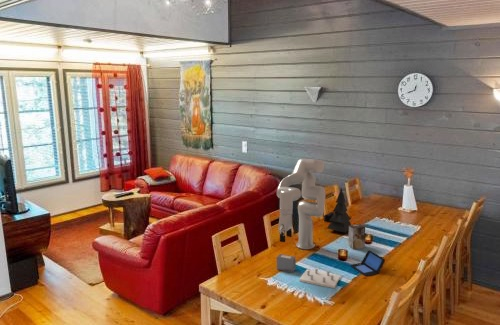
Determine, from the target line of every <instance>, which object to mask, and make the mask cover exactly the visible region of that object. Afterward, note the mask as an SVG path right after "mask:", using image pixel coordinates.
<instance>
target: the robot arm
mask: <svg viewBox="0 0 500 325" xmlns="http://www.w3.org/2000/svg"><path fill="white" fill-rule="evenodd" d="M324 169H325V163H324V161H323V160H321V159H316V158H315V159H314V158H300V159H298V160H297V161H296V163H295V166H294V168H293V170H292V172H291V174H289V175H287V176H285V177H284V178H282V180H281V181H280V182H279V184H278V186H277V189H276V196H277V198H278V199H279V218H278V220H279V221H278V232H279V242H281V243H286V237H287V238H291V237H293V236H292V233H293V228H292V227H293V214H294V212H293V210H294V209H293V208H294V207H293V206H294V205H293V204H294V202H295V201H298V200H299V199H300V198H303V199H304V200H303V201H299V203H298V204H297V213H298V242H296V244H295V245H296V247H297V248H298V249H300V250H312V249H314V248H315V246H316V245H315V243H314V242H313V241H314V239H313V236H314V235H313V234H314V220H313V218H312V217H315V218H321V217H323V216H324V213H325V203H326V201H325V200H326V189H325V187H323V186H320V185H319V186H318V185H316V176H315V175H314V174H315V173H316V174H321V173H323V172H324ZM301 183H302V184H301ZM297 184H301V190H300V188H298V187H292V186H293V185H297ZM307 200H310V201H307Z"/></svg>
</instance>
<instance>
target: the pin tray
mask: <svg viewBox="0 0 500 325" xmlns="http://www.w3.org/2000/svg"><path fill="white" fill-rule="evenodd" d="M340 280H341V275H339V274H334V273H330V270H327V271H326V272H324V271H320V270H318V268H314V270H313V269H310V268H309V269H307V268H306V270H305V271H304V272H303V274H302V275H301V276H300V278H299V279H298V281H299V282H303V283H306V284H307V283H308V284H310V285H311V284H312V285H316V286H321V287H325V288H331V289H335V288H336V287H337V285H338V284H339V281H340Z"/></svg>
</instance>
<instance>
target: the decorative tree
mask: <svg viewBox="0 0 500 325" xmlns="http://www.w3.org/2000/svg"><path fill="white" fill-rule="evenodd" d="M335 203H336V205H335V207H334V208H333V210H332V212H333V213H334V214H333V216H332V217H331V219H330V220H329V221H331V222H329V224H328V226H327V227H326V228H327V229H329V230H333V231H336V232H337V233H347V232H349V225H352V223H351V220H352V218H351V217H350V216H349V214H348V209H347V206H346V199H345V195H344V192H343V188H342V187H340V190H339V194H338V195H337V198H336V201H335Z"/></svg>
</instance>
